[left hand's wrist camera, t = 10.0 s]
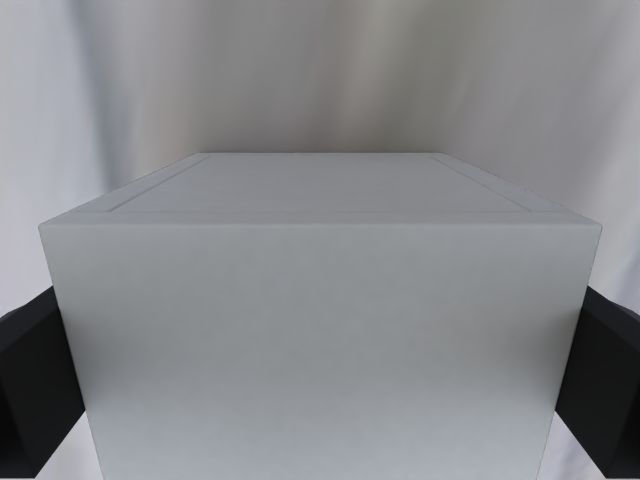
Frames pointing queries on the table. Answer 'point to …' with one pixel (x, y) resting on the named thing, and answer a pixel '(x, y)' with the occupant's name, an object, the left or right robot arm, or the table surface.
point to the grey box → (320, 318)
